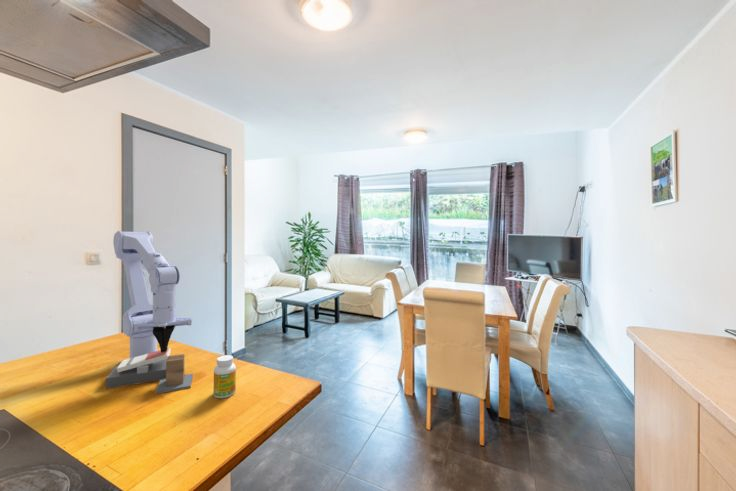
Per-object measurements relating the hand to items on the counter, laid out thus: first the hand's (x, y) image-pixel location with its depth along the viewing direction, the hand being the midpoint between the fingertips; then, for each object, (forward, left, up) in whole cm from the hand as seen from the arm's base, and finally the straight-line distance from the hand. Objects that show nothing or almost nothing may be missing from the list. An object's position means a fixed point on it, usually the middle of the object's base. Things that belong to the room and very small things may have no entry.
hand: (164, 350), depth 91 cm
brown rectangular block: (+9, +4, -6) cm, 12 cm away
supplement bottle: (+20, +17, -7) cm, 27 cm away
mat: (+9, +4, -7) cm, 12 cm away
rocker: (0, -4, -2) cm, 5 cm away
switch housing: (0, -4, -7) cm, 8 cm away
